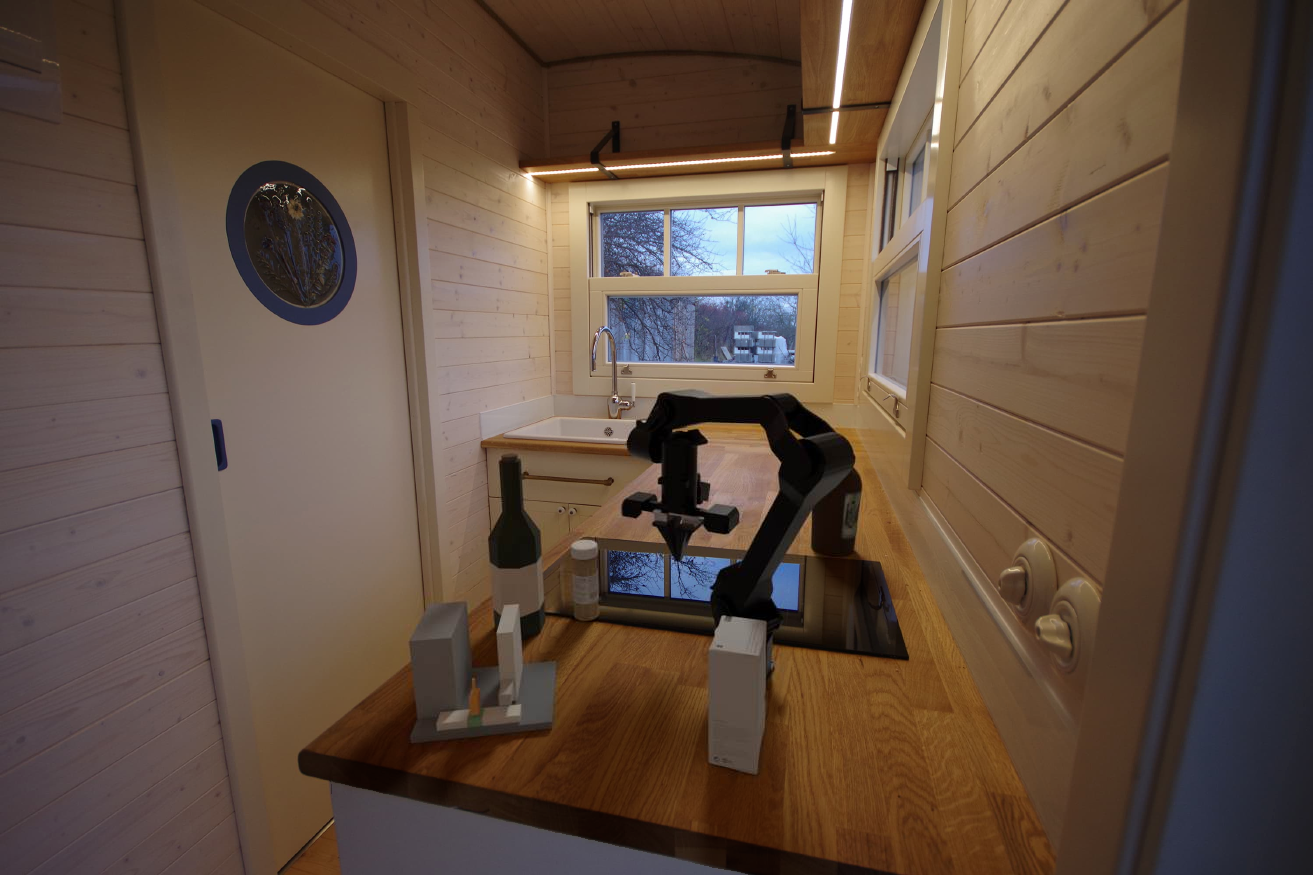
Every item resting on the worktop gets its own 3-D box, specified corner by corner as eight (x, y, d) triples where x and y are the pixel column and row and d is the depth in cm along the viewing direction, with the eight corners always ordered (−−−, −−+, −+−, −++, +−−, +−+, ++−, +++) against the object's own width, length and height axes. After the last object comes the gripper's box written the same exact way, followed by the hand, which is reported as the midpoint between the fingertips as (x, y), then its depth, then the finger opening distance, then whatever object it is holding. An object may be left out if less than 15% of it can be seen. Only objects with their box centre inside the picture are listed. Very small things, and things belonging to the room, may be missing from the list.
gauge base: (556, 666, 79) (553, 593, 76) (552, 728, 67) (547, 643, 64) (437, 677, 77) (430, 602, 74) (410, 743, 64) (400, 655, 62)
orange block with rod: (481, 704, 67) (478, 674, 66) (478, 714, 66) (476, 683, 65) (473, 705, 67) (470, 674, 66) (470, 715, 65) (467, 684, 65)
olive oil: (799, 548, 121) (805, 441, 115) (822, 535, 128) (829, 434, 123) (843, 562, 113) (851, 449, 108) (865, 548, 120) (874, 441, 115)
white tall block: (522, 666, 76) (518, 604, 74) (514, 716, 67) (509, 645, 65) (508, 668, 76) (504, 605, 74) (498, 717, 67) (492, 647, 64)
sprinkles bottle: (590, 605, 96) (588, 536, 93) (604, 616, 93) (602, 544, 90) (568, 614, 93) (565, 543, 90) (582, 625, 90) (579, 551, 87)
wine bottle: (555, 619, 91) (547, 452, 85) (524, 645, 84) (512, 464, 78) (517, 609, 95) (506, 447, 89) (484, 633, 88) (470, 458, 81)
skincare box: (757, 776, 59) (762, 659, 56) (704, 764, 61) (706, 649, 58) (765, 724, 67) (769, 618, 64) (718, 714, 69) (720, 611, 66)
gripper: (751, 464, 86) (748, 553, 90) (650, 452, 95) (651, 534, 98) (728, 481, 77) (726, 580, 80) (618, 467, 85) (620, 557, 88)
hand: (678, 560), depth 87 cm, fingers closed
